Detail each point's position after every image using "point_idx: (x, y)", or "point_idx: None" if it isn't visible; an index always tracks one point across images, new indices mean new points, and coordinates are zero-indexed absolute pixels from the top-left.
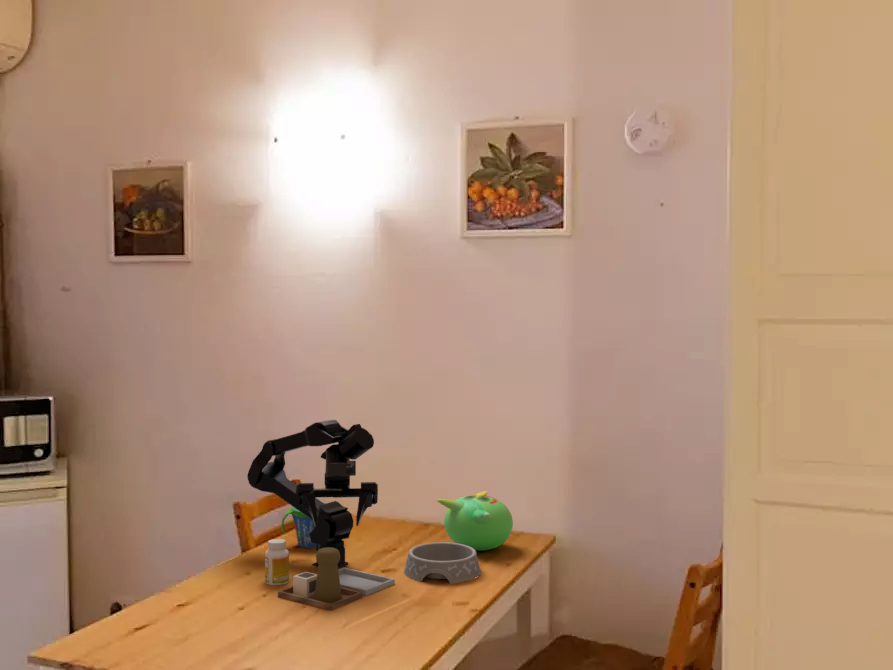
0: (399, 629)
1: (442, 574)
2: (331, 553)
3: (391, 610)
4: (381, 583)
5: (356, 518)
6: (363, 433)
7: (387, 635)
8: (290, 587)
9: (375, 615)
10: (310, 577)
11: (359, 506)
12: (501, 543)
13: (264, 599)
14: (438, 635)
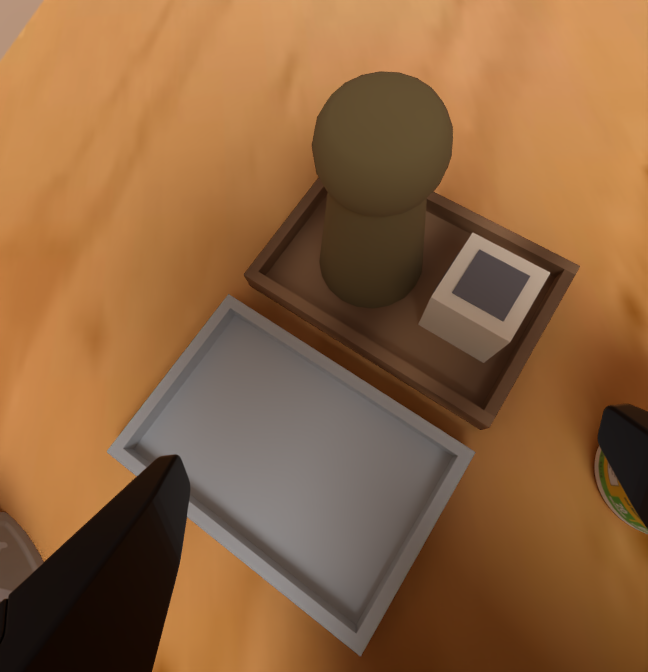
0: (138, 65)
1: None
2: (354, 80)
3: (151, 192)
4: (166, 385)
5: (154, 489)
6: None
7: (171, 29)
8: (544, 316)
9: (202, 150)
10: (462, 258)
11: (3, 660)
12: None
13: (614, 265)
14: (44, 40)
